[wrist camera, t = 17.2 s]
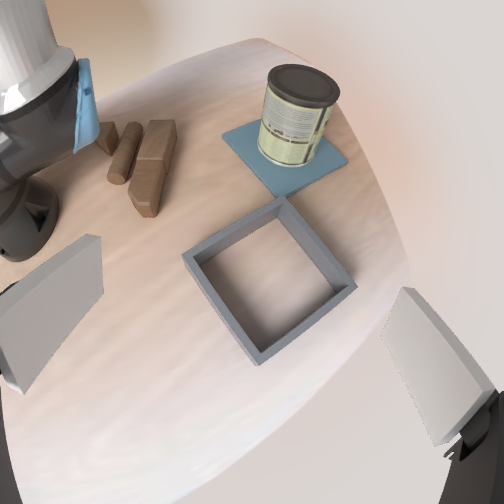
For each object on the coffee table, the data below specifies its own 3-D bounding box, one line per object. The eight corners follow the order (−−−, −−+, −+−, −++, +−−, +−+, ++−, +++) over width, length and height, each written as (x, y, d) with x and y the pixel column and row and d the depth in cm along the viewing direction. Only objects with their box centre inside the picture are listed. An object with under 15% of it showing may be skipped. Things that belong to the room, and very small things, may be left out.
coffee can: (256, 123, 48) (267, 59, 35) (311, 130, 49) (333, 70, 36) (255, 165, 44) (268, 96, 31) (317, 172, 45) (347, 109, 32)
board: (222, 137, 47) (222, 133, 46) (290, 111, 52) (291, 107, 51) (279, 201, 43) (280, 198, 42) (346, 164, 48) (348, 160, 47)
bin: (185, 265, 38) (181, 254, 34) (278, 209, 42) (283, 194, 39) (254, 365, 34) (258, 365, 30) (346, 294, 38) (358, 286, 35)
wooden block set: (176, 111, 42) (151, 199, 35) (178, 134, 47) (158, 220, 40) (88, 116, 41) (50, 198, 34) (97, 136, 46) (65, 216, 39)
